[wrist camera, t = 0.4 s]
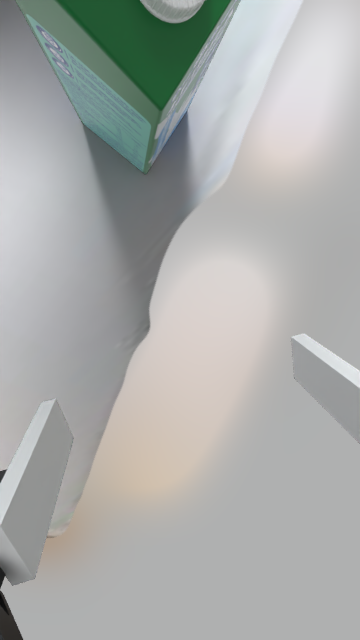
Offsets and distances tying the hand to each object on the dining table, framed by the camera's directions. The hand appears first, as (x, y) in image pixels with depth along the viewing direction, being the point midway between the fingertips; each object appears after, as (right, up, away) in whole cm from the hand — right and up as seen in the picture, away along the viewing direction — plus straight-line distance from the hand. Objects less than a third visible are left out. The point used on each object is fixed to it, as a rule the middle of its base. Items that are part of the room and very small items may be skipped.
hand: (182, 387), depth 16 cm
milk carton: (-5, +28, +18) cm, 34 cm away
